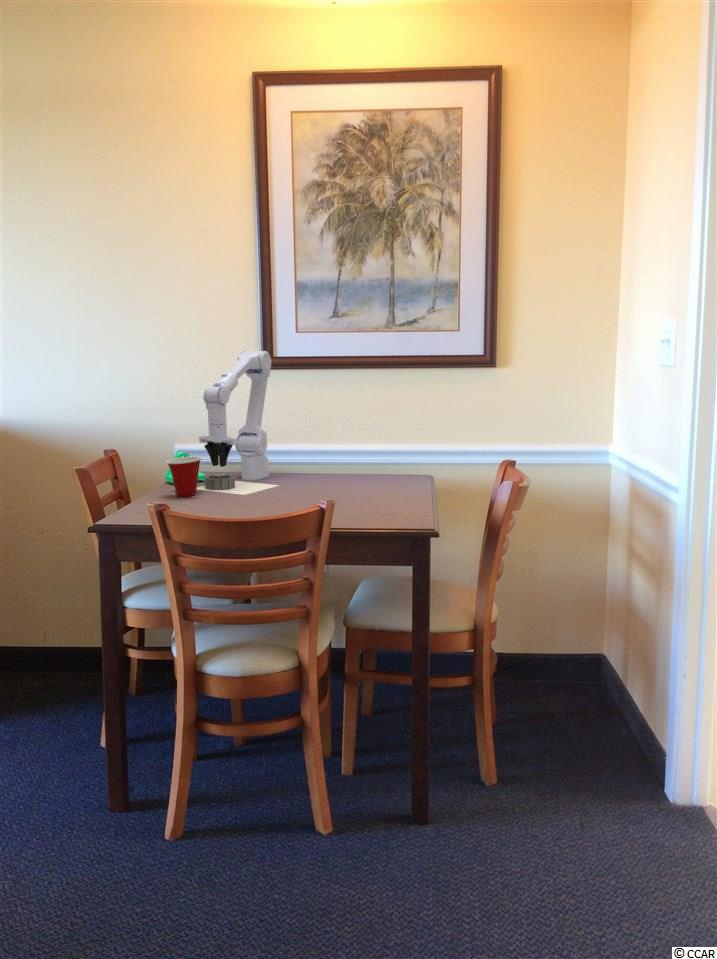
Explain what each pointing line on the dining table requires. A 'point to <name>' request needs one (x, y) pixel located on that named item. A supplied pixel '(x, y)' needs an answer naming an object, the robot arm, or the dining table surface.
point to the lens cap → (219, 476)
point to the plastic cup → (185, 475)
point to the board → (232, 486)
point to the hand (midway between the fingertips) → (219, 465)
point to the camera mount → (168, 474)
